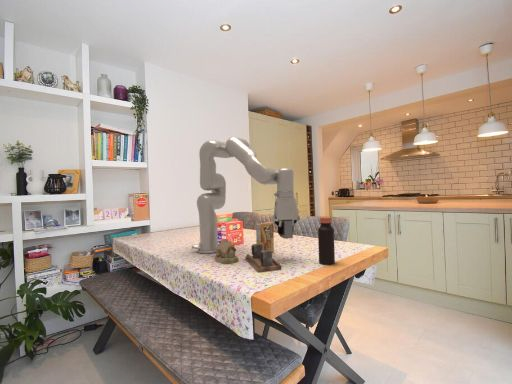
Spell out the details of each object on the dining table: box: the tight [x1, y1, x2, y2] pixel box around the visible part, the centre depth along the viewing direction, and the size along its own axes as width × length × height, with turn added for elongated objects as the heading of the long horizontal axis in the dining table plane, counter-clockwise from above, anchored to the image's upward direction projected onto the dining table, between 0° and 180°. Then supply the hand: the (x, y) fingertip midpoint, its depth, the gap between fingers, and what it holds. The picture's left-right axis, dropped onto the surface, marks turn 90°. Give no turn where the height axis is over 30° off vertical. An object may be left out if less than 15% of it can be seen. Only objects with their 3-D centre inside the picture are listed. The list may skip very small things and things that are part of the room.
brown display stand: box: [245, 243, 282, 273], centre depth 120 cm, size 10×20×8 cm, turn 17°
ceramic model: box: [214, 238, 239, 265], centre depth 130 cm, size 14×11×10 cm
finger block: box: [279, 220, 294, 239], centre depth 126 cm, size 4×6×8 cm
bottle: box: [317, 216, 336, 266], centre depth 119 cm, size 7×7×20 cm
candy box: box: [255, 221, 275, 253], centre depth 141 cm, size 9×4×15 cm, turn 129°
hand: (285, 234), depth 126 cm, fingers closed on finger block, 4 cm apart
